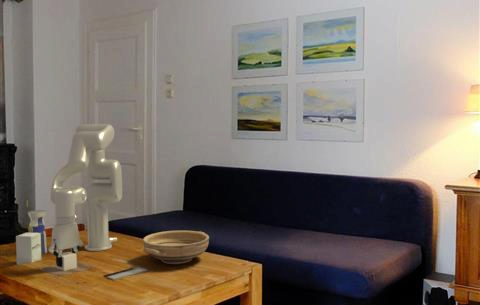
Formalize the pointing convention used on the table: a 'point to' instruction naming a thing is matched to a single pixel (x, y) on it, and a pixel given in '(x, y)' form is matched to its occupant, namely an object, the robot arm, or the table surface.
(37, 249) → the supplement box
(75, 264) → the cream cube
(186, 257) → the ceramic bowl
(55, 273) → the tan square base plate
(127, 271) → the gray square plate
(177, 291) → the table surface
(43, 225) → the spray bottle
